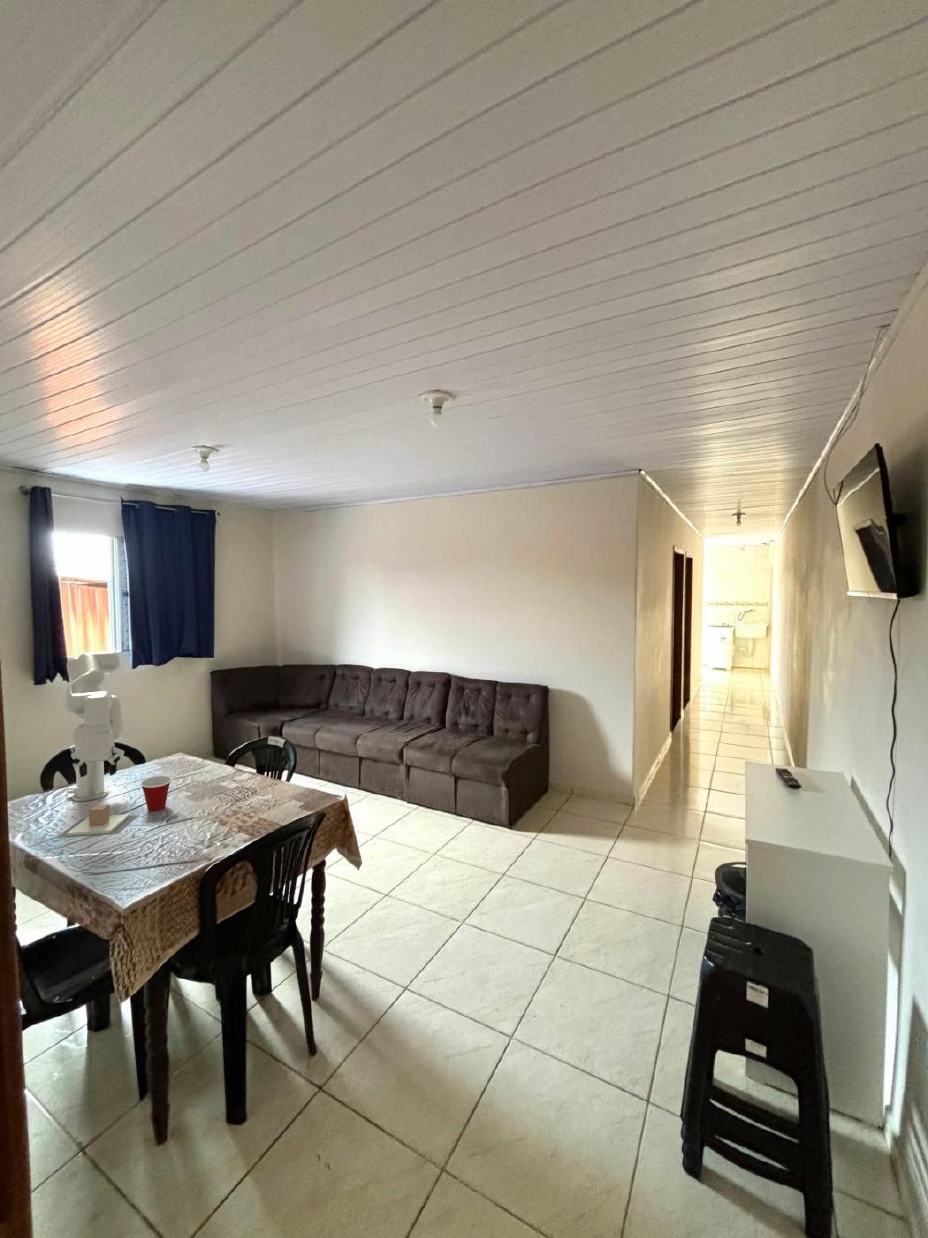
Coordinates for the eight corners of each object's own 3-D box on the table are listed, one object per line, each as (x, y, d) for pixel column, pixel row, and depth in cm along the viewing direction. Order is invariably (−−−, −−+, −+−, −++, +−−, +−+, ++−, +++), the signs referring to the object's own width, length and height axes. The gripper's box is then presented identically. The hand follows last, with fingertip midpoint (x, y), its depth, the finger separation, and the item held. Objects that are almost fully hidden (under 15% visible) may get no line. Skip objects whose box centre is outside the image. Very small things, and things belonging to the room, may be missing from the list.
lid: (66, 836, 181) (66, 816, 181) (89, 819, 195) (88, 801, 195) (110, 833, 183) (110, 813, 183) (129, 816, 197) (128, 799, 197)
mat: (55, 839, 180) (55, 837, 180) (81, 820, 196) (81, 818, 195) (118, 835, 183) (118, 833, 183) (138, 816, 199) (138, 815, 199)
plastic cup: (141, 817, 198) (141, 787, 197) (140, 808, 207) (139, 779, 206) (173, 811, 204) (173, 781, 204) (170, 802, 213) (170, 773, 212)
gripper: (64, 732, 183) (66, 780, 183) (118, 730, 186) (119, 777, 186) (77, 727, 190) (78, 773, 191) (128, 725, 193) (128, 770, 194)
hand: (98, 775), depth 188 cm, fingers open, 9 cm apart
